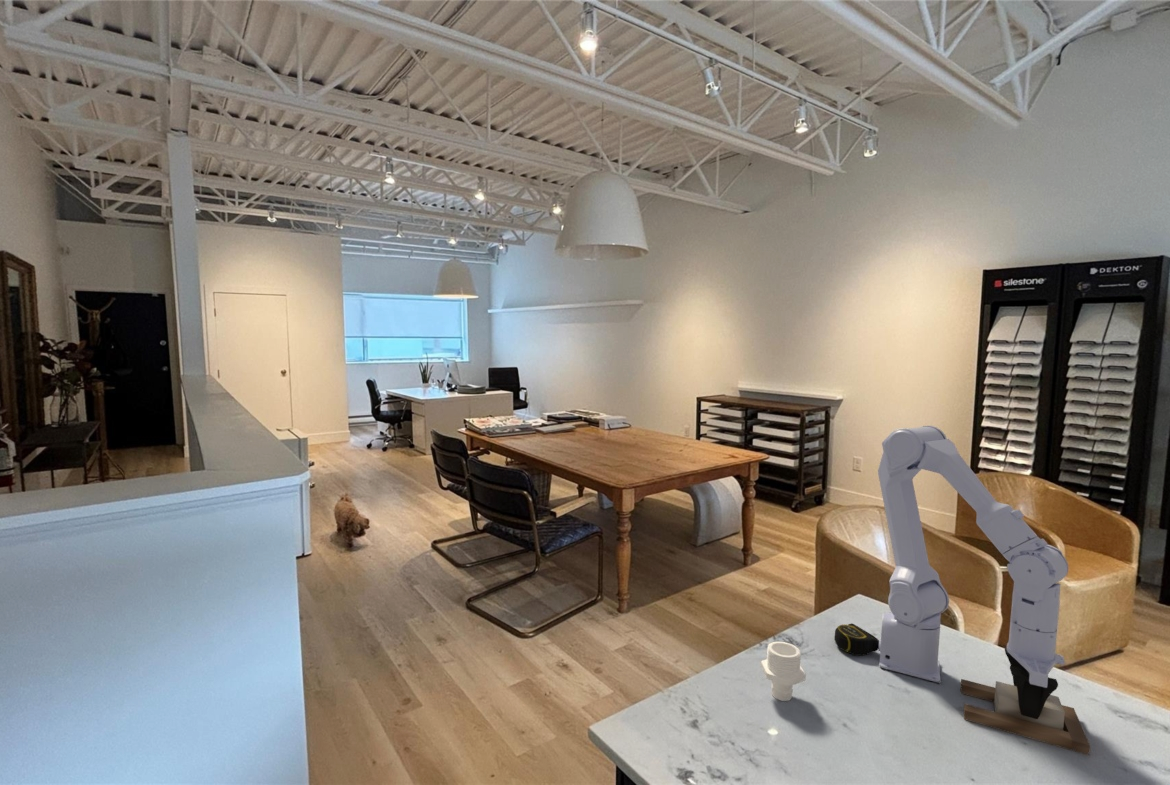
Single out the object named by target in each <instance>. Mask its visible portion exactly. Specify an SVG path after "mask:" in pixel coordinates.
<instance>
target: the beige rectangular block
mask: <svg viewBox="0 0 1170 785" xmlns="http://www.w3.org/2000/svg"><path fill="white" fill-rule="evenodd" d="M1062 705H1063V704H1062V702H1061V700H1060V698H1059V696H1056V695H1053V694H1050V696H1049V697H1048V698H1047V700H1046V702H1045V704H1044V707H1043V709H1042V712H1041V714H1040V716H1039V718H1038V719H1034V718H1030V717H1027V716H1023V715H1021V712H1020V708H1019V701H1018V691H1017V686H1014V684H1008V683H1006V682H1001V681H997V680H995V698H994V702H993V706H994V712H997V713H1001V714H1004V715H1008V716H1011V717H1015V718H1019V719H1022V720H1026V721H1030V722H1033V723H1037V724H1040V725H1044V726H1048V727H1051V728H1055V729H1058V730H1062V731H1064V730H1063V726H1064V715H1065V712H1064V709H1063V707H1062Z"/></svg>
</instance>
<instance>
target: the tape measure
mask: <svg viewBox="0 0 1170 785" xmlns="http://www.w3.org/2000/svg"><path fill="white" fill-rule="evenodd" d="M834 641H835V644H836V646H837V647H838V648H839V649H841V650H842V651H844V652H846V653H850V654H852V655H857V656H867V655H869V654H871V653H874V652H877V651H879V641H880V640H879V639H878V638H877V637H876V636H874V635H873V634H872V633H870V632H868V631H866V630H865V629H863V628H862V627H860V626H858V625H856V624H854V623H849V624H840V625H838V626H837V627H836V628H835V630H834Z"/></svg>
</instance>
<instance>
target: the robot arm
mask: <svg viewBox="0 0 1170 785" xmlns="http://www.w3.org/2000/svg"><path fill="white" fill-rule="evenodd" d="M881 445H882V451H883V452H882V454H881V455H882V456H881V459H880V461H879V466H878V469H877V473H878V481H879V485H880V486H879V487H880V492H881V497H882V501H883V505H884V511H885V516H886V518H885V519H886V521H887V528H888V532H889V538H890V543H891V548H892V554H893V558H894V559H893V560H894V563H895V568H894V570H893V572H892V575H891V576H890V578H889V581H888V582H889V588H890V590H889V595H888V597H887V598H888V599H887V605H888V607H889V610H890V612H886V611H884V612H882V621H881V633H880V635H881V636H880V640H879V649H878V652H880V653H879V665H878V666H879V667H880V668H882V669H884V670H889V671H893V672H897V673H900V674H905V675H908V676H911V677H915V678H919V679H923V680H926V681H931V682H934V683H938V684H939V683H941V670H940V668H941V667H940V660H939V648H940V647H939V646H940V634H941V621H942V620H941V614H942V613H944V612H945V611H946V610H947V609H948V607H949V604H950V597H949V594H948V592H947V590H946V588H944V586H943V584H942V583H941V580H940V575H939V573H938V572H937V571H936V570H935V569H934V568H933V567H932V566H931V565H930V562H929V557H928V552H927V547H926V542H925V537H924V536H925V535H924V532H923V527H922V522H921V521H922V520H921V516H920V512H919V507H918V506H919V505H918V501H917V497H916V492H915V487H914V481H913V480H914V478H915V477H916V476H917V475H918V474H919V473H920V471H922V470H925V471H928V472H932V473H937V474H939V475H941V476H942V477H943V479H945V480H946V481H947V483H948V484H949V485H951V487H952V488H953V489H954V490H955V491H956V492H957V493H958V494H959V495H960V496H961V497H962V499H963V500H965V501H966V503H967V504H968V505H969V506H970V507H971V508H972V509H973V510H974V511H975V513H976V517H975V518H976V519H975V520H976V521H975V524H976V525H977V527H979V529H980V530H981V531H982V532H983V534H984V535H985V536H986V537H987V538H988V540H989V541H990V542H991V543H992V544H993V546H994V547H995V549H997V550H998V552H999V553H1000V554H1001V555H1002V556H1003V557H1004V558H1005V559H1006V560H1007V561H1008V563H1007V564H1006V567H1007V568H1006V569H1007V572H1008V575H1009V576H1010V577H1011V580H1013V581H1012V582H1013V589H1012V596H1011V609H1010V610H1011V611H1010V623H1009V632H1008V633H1009V634H1008V635H1009V636H1008V642H1007V643H1006V647H1005V648H1004V652H1005V653H1004V654H1005V655H1006V657H1007V660H1008V663H1009V665H1010V666H1009V670H1010V674H1011V676H1012V682H1013V685H1014V686H1017V691H1018V701H1019V708H1020V712H1021V715H1023V716H1027V717H1030V718H1034V719H1038V718H1039V716H1040V714H1041V712H1042V709H1043V707H1044V704H1045V702H1046V700H1047V698H1048V697H1049V696H1050V695H1052V694H1053V692H1055V691H1056V690H1057V688H1058V687H1059V682H1058V681H1057V678H1053V677H1050V676H1049V674H1050V672H1052V669H1053V668H1054V667H1055V666H1056V665H1060V666H1065V662H1066V660H1065V658H1064V656H1063V655H1061V654H1058V653H1056V647H1057V637H1058V636H1057V635H1058V629H1059V628H1058V626H1059V615H1060V614H1059V613H1060V603H1061V602H1060V595H1061V583H1059V582H1061V581H1062V580H1064V579H1065V577H1066V576H1067V575H1068V572H1069V563H1068V561H1067V558H1066V557H1065V556H1064V555H1063V552H1062V551H1061V549H1059V548H1057V547H1055V546H1053V545H1051V544H1048V542H1047V541H1046V540H1045V539H1044V538H1041V537H1039V536H1038V535H1037V534H1036V532H1035V531H1034V530H1033V529H1032V528H1031V527H1030V526H1029V525H1028V523H1027V522H1026V521H1025V520H1024V519H1023V517H1025V515H1024V513H1022V511H1021V510H1020V509H1018V508H1017V509H1014V508H1013V507H1012V505H1010V504H1008V503H1007V504H1006V503H1002V502H999V501H997V499H995V497H994V496H993V495H992V494H991V493H990V491H989V490H988V489H987V487H986V486H985V485H984V484H983V483H982V481H981V480H980V478H979V477H978V476H977V475H976V473H975V472H974V471H973V470H972V468H971V467H970V466H969V465H968V464H967V462H966V461H965V459H964V458H963V456H961V454H960V453H959V451H958V448H957V446H956V444H955V443H954V442H953V441H952V440H951V439H950V438H947V436H946V434H945V433H944V432H943V431H942V430H941V428H938V427H937V426H933V425H923V426H920V427H910V428H907V427H906V428H905V427H904V428H897V429H895V430H893V431H892V432H891V433H889V435H888V436H887V437H886V438H885V439H884V440H883V441H882V443H881Z"/></svg>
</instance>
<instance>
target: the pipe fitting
mask: <svg viewBox="0 0 1170 785" xmlns="http://www.w3.org/2000/svg"><path fill="white" fill-rule="evenodd" d="M801 653H802V652H801V650H800V649H799V648H798V647H797V646H796V645H794V644H792V643H789V642H787V641H785V642H784V641H773V642H770V643H769V644H767V653H766V659H762V660H761V662H760V668H761V669H762V672H763V674H764V676H765V679H767V680H770V681H771V695H772V696H773V698H775V699H776V700H778V701H782V702H788V701H790V700H792V697H793V686H794V685H797V684H799V683H802V682H805V681H806V676H807V674H806V673H805V671H804V669H803V667H802V666H801V657H802V656H801Z"/></svg>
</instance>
